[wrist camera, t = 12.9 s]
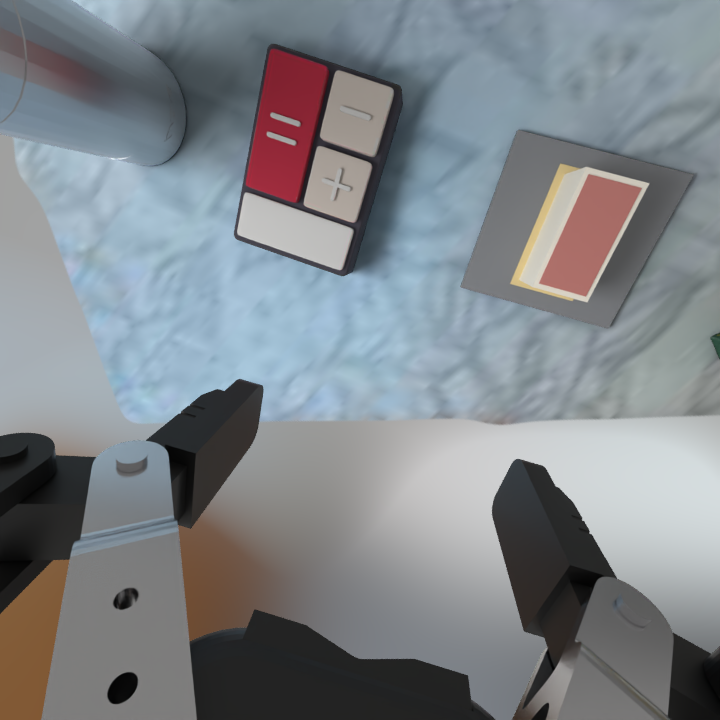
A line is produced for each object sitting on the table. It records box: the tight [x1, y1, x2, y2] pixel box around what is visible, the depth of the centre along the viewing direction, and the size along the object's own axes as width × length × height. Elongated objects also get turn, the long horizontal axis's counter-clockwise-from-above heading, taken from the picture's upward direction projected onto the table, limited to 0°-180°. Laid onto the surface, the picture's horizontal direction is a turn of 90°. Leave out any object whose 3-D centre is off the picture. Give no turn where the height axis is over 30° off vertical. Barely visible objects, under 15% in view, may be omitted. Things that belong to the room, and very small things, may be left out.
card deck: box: [519, 167, 649, 302], centre depth 28 cm, size 9×4×4 cm, turn 166°
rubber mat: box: [460, 130, 693, 328], centre depth 30 cm, size 14×13×1 cm
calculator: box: [234, 44, 403, 276], centre depth 30 cm, size 11×4×15 cm
